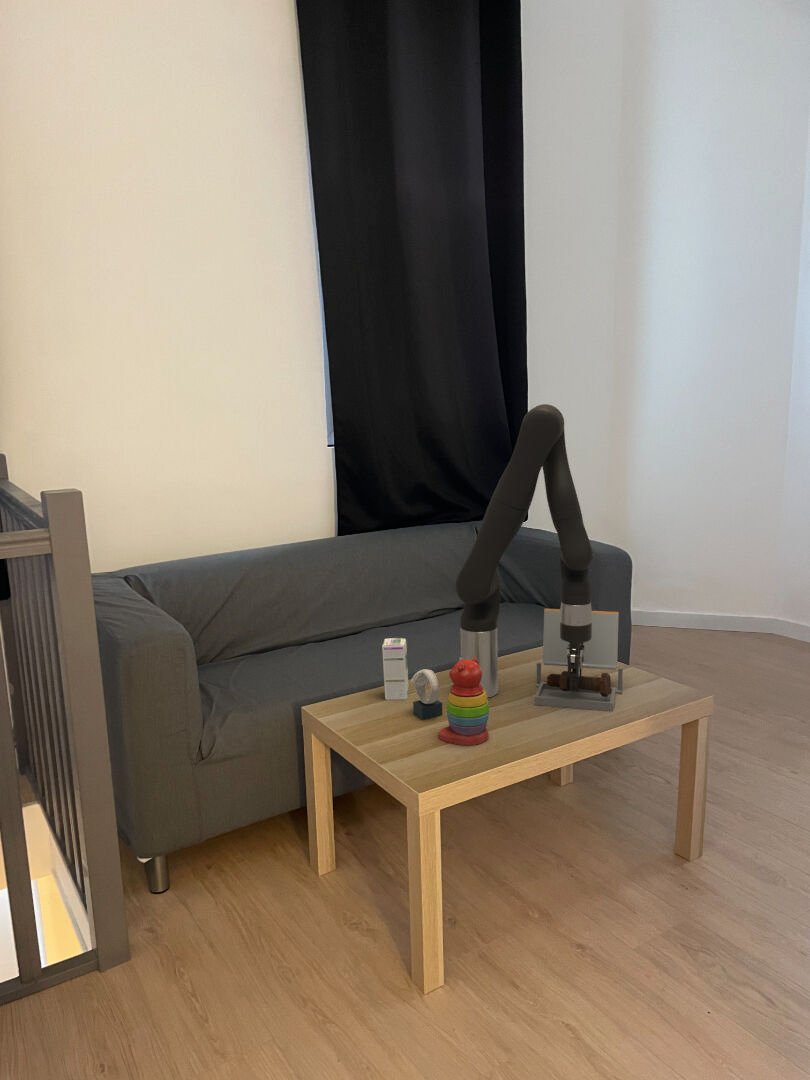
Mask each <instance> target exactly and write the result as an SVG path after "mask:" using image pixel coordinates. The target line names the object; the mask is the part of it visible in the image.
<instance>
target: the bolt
mask: <svg viewBox="0 0 810 1080" xmlns="http://www.w3.org/2000/svg"><path fill="white" fill-rule="evenodd" d="M567 673H568V670H563V671H562V672H561V673H551V674H548V675H547V676H546V682H547V684H548V686H554V687H560V688H561V690H563V691H569V676H568V675H567ZM611 685H612V681H611V675H610V674H609V673H608V672H602V673H601V675H600V677H599V676H593V677H592V676H583V675H582V676H579V689H585V690H594V691H600V694H601V695H602V697H607V696H608V695H609V694H610V688H611V687H612V686H611Z"/></svg>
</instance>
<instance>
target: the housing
mask: <svg viewBox="0 0 810 1080" xmlns="http://www.w3.org/2000/svg"><path fill="white" fill-rule="evenodd" d="M617 673H618V674H617V686H615V687H614V686H611V688H610V694H609V695H608V696H607V697H602V695H601V694H600V691H594V690H585V689H579V691H578V692H573V691H570V690H569V691H563V690H561V688H560V687H554V686H548V684H547V681H542V662H541V661H537V662H536V685H535V688H537V690H536V692H535V695H534V697H533V699H534V700H533V701H534V703H533V704H534V706H545V707H546V706H547V707H558V708H569V709H571V708H572V709H579V710H580V709H581V710H593V711H603V712H604V711H605V712H614V708H615V701H616V695H622V694H623V667H617ZM616 693H618V694H616Z"/></svg>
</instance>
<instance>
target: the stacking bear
mask: <svg viewBox="0 0 810 1080" xmlns="http://www.w3.org/2000/svg"><path fill="white" fill-rule="evenodd" d="M448 675H449V678H450V681H451V682H452V683H453V685H452V686H451V687H450V689H449V690H450V691H449V692H448V699H447V702H446V715H447V720H448V726H445V727H443V728H441V729H440V730H439V731H438V734H437V737H438V739H439V740H440V741H443V742H447V743H450V744H455V745H461V746H474V745H479V744H482V743H484V742H486V741H487V740H489V736H490V734H489V731H488V729H487V726H488V725H487V724H488V720H489V715H490V706H489V705H490V704H489V700H488V698H487V695H486V692H485V690H484V689H483V687H482V686H481V685H480V684H479V683H480V681H481V678H482V670H481V667H480V666H479V665H478V660H477V659H476V658H473V659H472V660H461V661H459V660H458V661H457V662H456V663H455V664H454V666H453V667H452V668H451V669H450V670H449V673H448Z"/></svg>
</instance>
